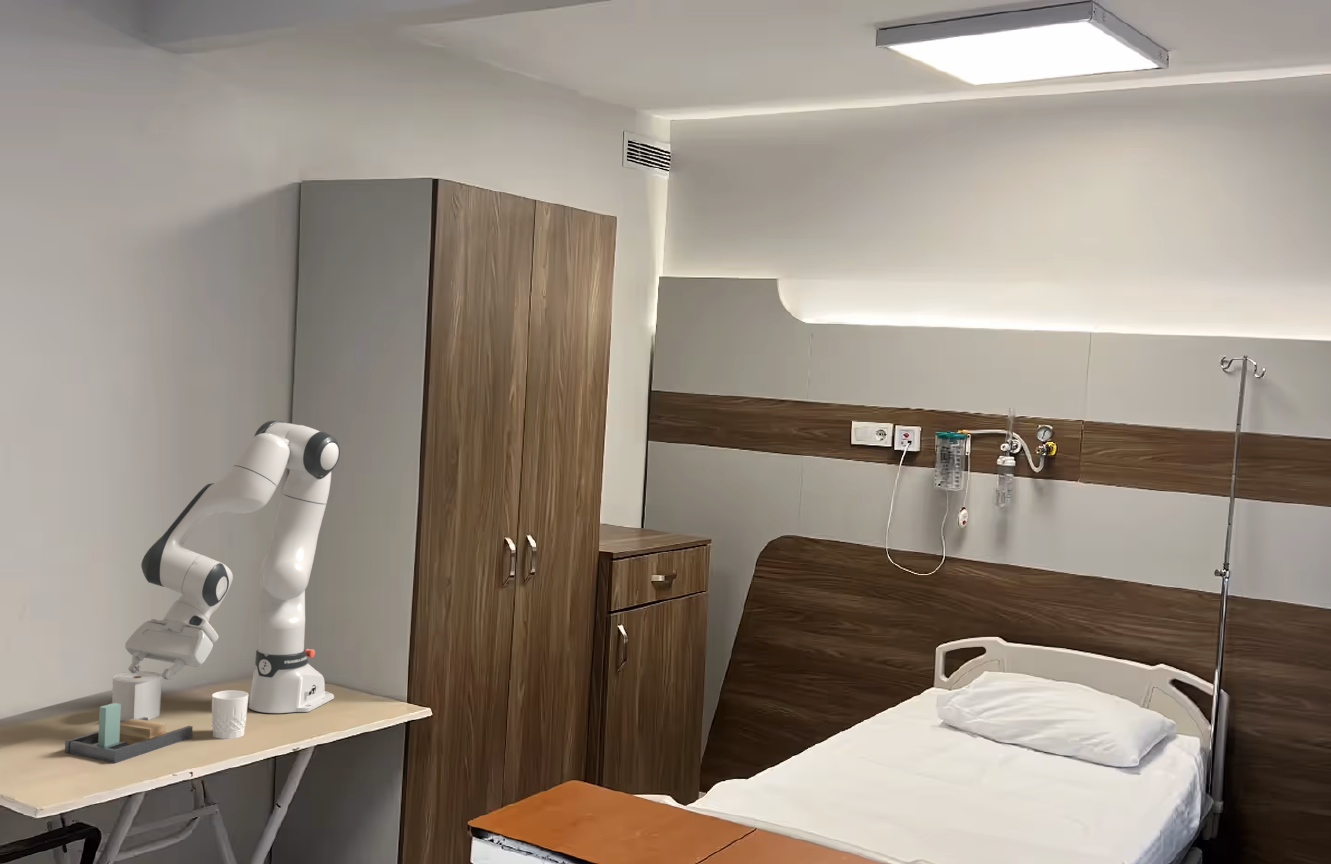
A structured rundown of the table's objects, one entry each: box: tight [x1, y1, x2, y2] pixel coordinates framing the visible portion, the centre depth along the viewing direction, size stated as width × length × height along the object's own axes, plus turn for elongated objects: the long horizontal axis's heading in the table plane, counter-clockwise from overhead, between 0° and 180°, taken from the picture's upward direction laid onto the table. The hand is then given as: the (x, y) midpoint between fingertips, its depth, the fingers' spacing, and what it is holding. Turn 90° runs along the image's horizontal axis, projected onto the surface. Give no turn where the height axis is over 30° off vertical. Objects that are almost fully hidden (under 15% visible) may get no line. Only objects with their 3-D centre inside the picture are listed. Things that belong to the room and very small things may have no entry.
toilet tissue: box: [111, 670, 162, 722], centre depth 289 cm, size 11×12×10 cm
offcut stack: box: [119, 719, 168, 745], centre depth 269 cm, size 6×10×4 cm, turn 68°
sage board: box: [98, 702, 121, 747], centre depth 261 cm, size 4×2×10 cm, turn 158°
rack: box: [64, 717, 193, 764], centre depth 267 cm, size 22×14×3 cm, turn 158°
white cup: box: [211, 689, 250, 740], centre depth 278 cm, size 8×8×10 cm
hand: (148, 674), depth 270 cm, fingers open, 8 cm apart
